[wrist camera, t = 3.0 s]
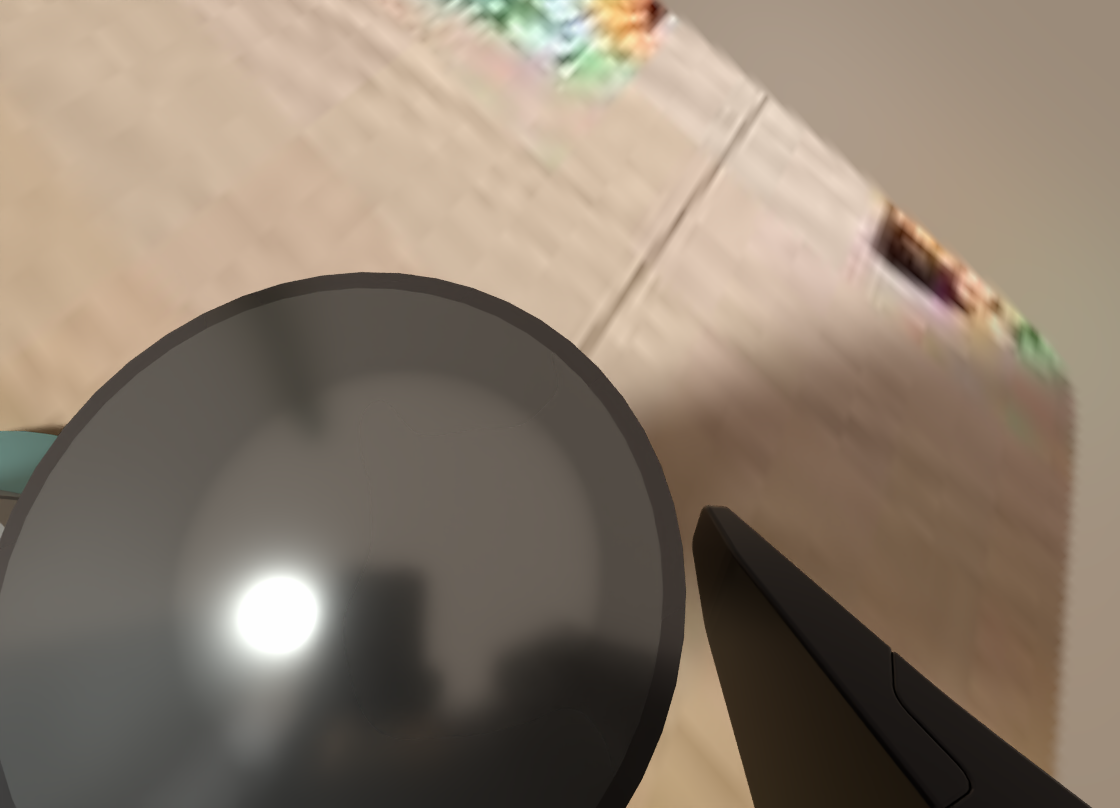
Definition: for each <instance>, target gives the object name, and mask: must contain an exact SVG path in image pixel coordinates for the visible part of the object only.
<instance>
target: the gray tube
mask: <svg viewBox="0 0 1120 808" xmlns="http://www.w3.org/2000/svg"><path fill="white" fill-rule="evenodd" d="M685 601H686V586H685V572H684V559H683V547H682V542H681V537H680V532H679V527H678V522H677V517H676V512H675V507H674V503H673V500H672V497H671V494H670V491H669V488H668V485H667V482H666V479H665V476H664V473H663V470H662V467H661V465H660V463H659V460H658V458H657V456H656V454H655V452H654V450H653V448H652V446H651V444H650V442H649V439H648V437H647V435H646V433H645V431H644V429H643V428H642V426H641V424H640V423H639V421H638V420H637V418H636V417H635V415H634V414H633V412H632V410H631V409H630V407H629V406H628V404H627V403H626V401H625V399H624V398H623V396H622V395H621V394H620V393H619V392H618V390H617V389H616V388H615V387H614V386H613V384H612V383H611V382H610V381H609V380H608V378H607V377H606V376H605V375H604V374H603V372H602V371H601V370H600V369H599V368H598V367H597V366H596V365H595V364H594V363H593V362H592V361H591V360H590V359H589V358H588V357H587V356H585V355H584V354H583V353H582V352H581V351H580V350H579V349H578V348H577V347H576V346H575V345H574V344H573V343H572V342H570V341H569V340H568V339H566V338H565V337H563V336H562V335H561V334H559V333H558V332H557V331H555V330H554V329H552V328H551V327H550V326H548V325H547V324H545V323H544V322H543V321H541V320H540V319H538V318H536V317H534V316H532V315H531V314H529V313H527V312H525V311H523V310H522V309H520V308H518V307H516V306H514V305H512V304H511V303H509V302H507V301H504V300H502V299H499V298H497V297H494V296H492V295H489V294H487V293H484V292H482V291H479V290H477V289H474V288H471V287H467V286H463V285H459V284H455V283H452V282H448V281H444V280H440V279H436V278H429V277H422V276H415V275H408V274H401V273H369V272H359V273H347V274H336V275H324V276H318V277H313V278H308V279H303V280H298V281H293V282H288V283H283V284H280V285H277V286H273V287H270V288H267V289H264V290H261V291H258V292H254V293H251V294H248V295H245V296H242V297H240V298H238V299H235V300H233V301H231V302H229V303H226V304H224V305H222V306H219V307H217V308H215V309H213V310H210V311H208V312H206V313H204V314H202V315H200V316H198V317H197V318H195V319H193V320H191V321H190V322H188V323H186V324H185V325H183V326H181V327H179V328H178V329H176V330H174V331H172V332H171V333H169V334H167V335H166V336H164V337H163V338H161V339H160V340H159V341H157V342H156V343H155V344H153V345H152V346H150V347H149V348H148V349H146V350H145V351H144V352H142V353H141V354H139V355H138V356H137V357H135V358H134V359H133V360H131V361H130V362H129V363H128V364H126V365H125V366H124V367H123V368H122V369H121V370H120V371H119V372H118V373H116V374H115V375H114V376H113V377H112V378H111V379H110V380H109V381H108V382H107V383H105V384H104V385H103V386H102V387H101V388H100V389H99V390H98V391H97V392H95V394H94V395H93V396H92V397H91V398H90V399H89V400H88V401H87V403H86V404H85V405H84V406H83V407H82V408H81V409H80V410H79V411H78V413H77V414H76V415H75V416H74V417H73V418H72V419H71V420H70V422H69V423H68V424H67V425H66V426H65V427H64V428H63V430H62V431H61V433H60V434H59V435H58V437H57V438H56V440H55V441H54V442H53V444H52V445H51V447H50V448H49V449H48V451H47V452H46V454H45V455H44V457H43V458H42V459H41V461H40V462H39V464H38V465H37V466H36V468H35V470H34V471H33V473H32V475H31V477H30V479H29V480H28V482H27V484H26V486H25V488H24V489H23V491H22V493H21V495H20V497H19V499H18V500H17V502H16V504H15V506H14V508H13V509H12V511H11V514H10V516H9V518H8V521H7V523H6V526H5V528H4V531H3V533H2V536H1V538H0V808H626V806H627V805H628V803H629V801H630V799H631V798H632V796H633V794H634V793H635V791H636V789H637V787H638V786H639V784H640V782H641V780H642V778H643V776H644V774H645V771H646V769H647V767H648V764H649V762H650V760H651V757H652V755H653V753H654V750H655V748H656V746H657V743H658V741H659V739H660V736H661V734H662V731H663V728H664V724H665V721H666V717H667V714H668V711H669V707H670V704H671V700H672V697H673V693H674V690H675V687H676V682H677V676H678V670H679V664H680V658H681V652H682V646H683V640H684V624H685Z"/></svg>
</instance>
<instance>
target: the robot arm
mask: <svg viewBox="0 0 1120 808" xmlns="http://www.w3.org/2000/svg"><path fill="white" fill-rule="evenodd" d="M692 550H693V557H694V563H695V569H696V575H697V582H698V588H699V594H700V600H701V607H702V613H703V619H704V624H705V629H706V633H707V637H708V641H709V645H710V648H711V652H712V656H713V659H714V663H715V666H716V670H717V674H718V677H719V681H720V684H721V688H722V692H723V695H724V699H725V702H726V706H727V710H728V713H729V717H730V720H731V724H732V728H733V731H734V735H735V739H736V742H737V746H738V749H739V753H740V757H741V760H742V764H743V767H744V771H745V775H746V778H747V782H748V785H749V789H750V793H751V796H752V800H753V803H754V807H755V808H1091V807H1090V806H1089V805H1088V804H1086V803H1085V802H1084V801H1082V800H1081V799H1080V798H1078V797H1077V796H1076V795H1075V794H1073V793H1072V792H1070V791H1069V790H1068V789H1067V788H1065V787H1064V786H1063V785H1061V784H1060V783H1059V782H1058V781H1056V780H1055V779H1054V778H1052V777H1051V776H1050V775H1048V774H1047V773H1046V772H1044V771H1043V770H1042V769H1041V768H1039V767H1038V766H1037V765H1035V764H1034V763H1033V762H1031V761H1030V760H1029V759H1028V758H1026V757H1025V756H1024V755H1022V754H1021V753H1020V752H1018V751H1017V750H1016V749H1014V748H1013V747H1012V746H1011V745H1009V744H1008V743H1007V742H1005V741H1004V740H1003V739H1001V738H1000V737H999V736H997V735H996V734H995V733H994V732H992V731H991V730H990V729H989V728H987V727H986V726H985V725H983V724H982V723H981V722H980V721H978V720H977V719H976V718H975V717H973V716H972V715H971V714H969V713H968V712H967V711H966V710H964V709H963V708H962V707H961V706H959V705H958V704H957V703H955V702H954V701H953V700H952V699H951V698H949V697H948V696H947V695H946V694H945V693H943V692H942V691H941V690H940V689H939V688H937V687H936V686H935V685H934V684H933V683H931V682H930V681H929V680H928V679H927V678H925V677H924V676H923V675H922V674H921V673H919V672H918V671H917V670H916V669H915V668H914V667H912V666H911V665H910V664H909V663H908V662H907V661H905V660H904V659H903V658H902V657H901V656H900V655H899V654H897V653H896V652H891V648H890V647H889V646H888V645H887V644H886V643H884V642H883V641H882V640H881V639H880V638H879V637H877V636H876V635H875V634H874V633H873V632H872V631H870V630H869V629H868V628H867V627H866V626H865V625H863V624H862V623H861V622H860V621H859V620H858V619H857V618H855V617H854V616H853V615H852V614H851V613H850V612H848V611H847V610H846V609H845V608H844V607H843V606H841V605H840V604H839V603H838V602H837V601H836V600H834V599H833V598H832V597H831V596H830V595H829V594H828V593H826V592H825V591H824V590H823V589H822V588H821V587H819V586H818V585H817V584H816V583H815V582H814V581H812V580H811V579H810V578H809V577H808V576H807V575H805V574H804V573H803V572H802V571H801V570H800V569H799V568H797V567H796V566H795V565H794V564H793V563H792V562H790V561H789V560H788V559H787V558H786V557H785V556H783V555H782V554H781V553H780V552H779V551H778V550H776V549H775V548H774V547H773V546H772V545H771V544H770V543H768V542H767V541H766V540H765V539H764V538H763V537H761V536H760V535H759V534H758V533H757V532H756V531H754V530H753V529H752V528H751V527H750V526H749V525H747V524H746V523H745V522H744V521H743V520H742V519H741V518H739V517H738V516H737V515H736V514H735V513H734V512H732V511H731V510H730V509H729V508H727V507H724V506H711V505H707V506H705V507H704V508H703V509H702V511H701V514H700V517H699V520H698V523H697V527H696V530H695V533H694V536H693V541H692Z"/></svg>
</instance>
